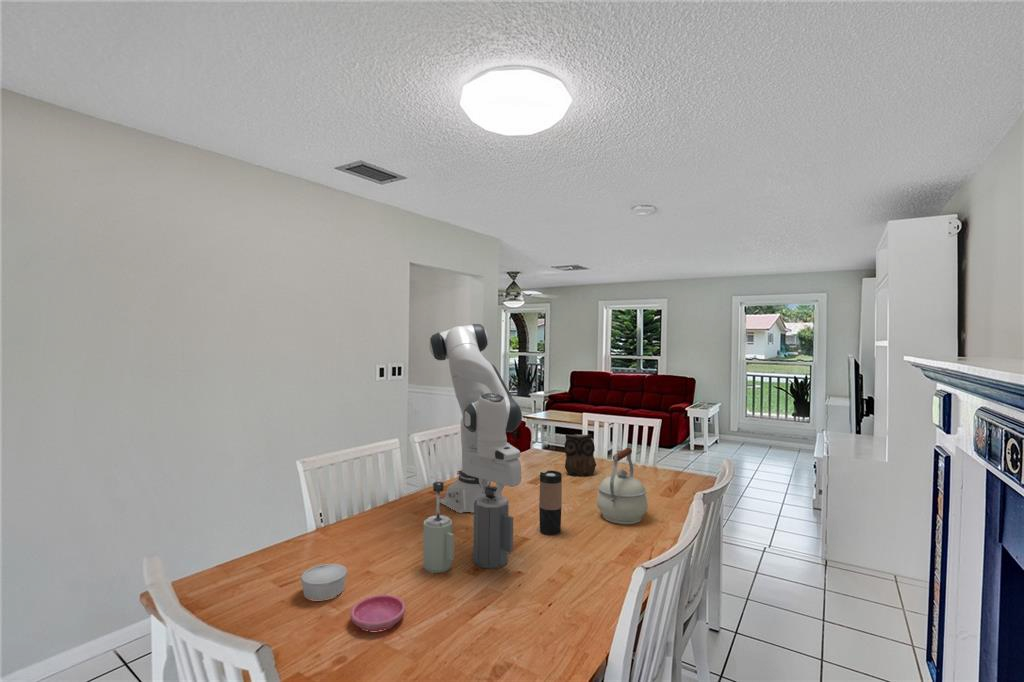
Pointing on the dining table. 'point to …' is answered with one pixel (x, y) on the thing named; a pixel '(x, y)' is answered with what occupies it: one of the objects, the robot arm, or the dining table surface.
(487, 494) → the plunger
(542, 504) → the travel mug
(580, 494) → the dining table surface
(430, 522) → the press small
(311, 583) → the ramekin
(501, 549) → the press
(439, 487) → the plunger small
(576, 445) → the owl
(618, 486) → the kettle
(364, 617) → the saucer
